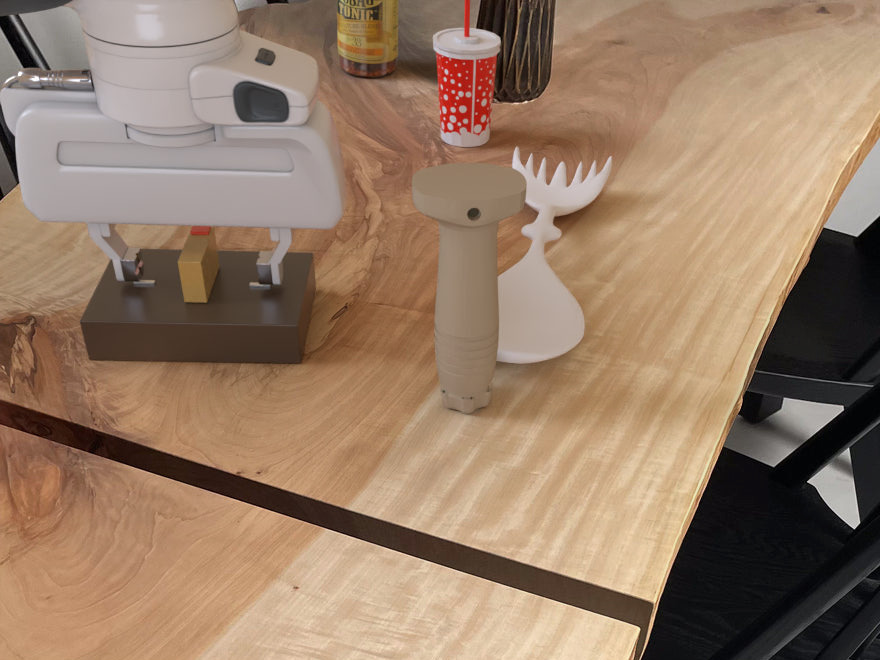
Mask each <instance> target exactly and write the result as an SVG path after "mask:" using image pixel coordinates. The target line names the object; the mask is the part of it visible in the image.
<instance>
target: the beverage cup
mask: <svg viewBox="0 0 880 660" xmlns="http://www.w3.org/2000/svg"><path fill="white" fill-rule="evenodd" d="M470 19H471V0H464V22H463V23H464V25H463V26H464V27H454V28H453V27H452V28H446V29H443V30H439V31H437V32H436V33H434V34H433V35H432V47H433V48H432V49H433V51H434V52H435V53H436V54H435V55H436V73H437V88H438V105H439V124H440V139H441V140H442V141H443V142H444V143H446V144H447V145H450V146H454V147H460V148H473V147H480V146H483V145H485V144H487V143H488V142H489V140H490V136H491V135H490V134H491V124H492V115H493V114H492V113H493V102H494V93H495V83H496V82H495V81H496V72H497V71H496V69H497V60H498V54H499V53H500V52H501V46H502V41H501V36H499V35H497V34H496V33H494V32H492V31H489V30H487V29H480V28H473V27H470V26H471V25H470V24H471V20H470Z"/></svg>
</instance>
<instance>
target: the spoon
mask: <svg viewBox="0 0 880 660" xmlns="http://www.w3.org/2000/svg"><path fill="white" fill-rule="evenodd" d="M612 167H613V157H612V155H610V156H609V157H608V158H607V161H606V162H605V164H604V166H603V168H602V170H600V172H598V173H597V160H596V159H594V160H593V162H592V164H591V167H590V169H589V172H588V174H587V175H586V177H585V179H584V180H583V161H582V160H581V161H580V162H579V163H578V166H577V169H576V170H575V174H574V177H573V179H572V181H571V183H570V184H569V185H568V184H567V182H568V181H567V167H566V163H565V161H563V160H562V161H560V163H559V164H558V165H557V167H556V170H555V172H554V174H553V176H552V178H551V180H550V183H549V184H548V183H547V158H546V157H543V159H542V161H541V164H540V166H539V169H538V172H537V175H536V176H535V174H534V155H533V152H531V153H530V155H529V157H528V159H527V162H526V164H525V166H524V165H523V164H522V162H521V152H520V147H519V146H518V145H517V146H515V148H514V151H513V155H512V163H511V168H514V169H516V170H517V171H519V172H520V173H522V175H523V176H524V177H525V179H526V183H527V187H526V200H525V204H526V205H527V206H528V207H530V208H532V210H534V211H535V212H537V213H538V214H537V217H536V219H535V220H534V221H533V222H531V223H528V224H525V225H524V226H522V228H521V230H520V232H521V235H522V236H524V237H525V238H527V239H529V240H530V241H532V242H531V244H530V247H529V249H528V250H527V251H526V253H525V255H523V257H522V258H521V259H520V260H518V262H516V263H515V264H513V265H512V266H511V267H509V268H508V269H506V270H505V271H504V272H502V273H501V274H499V275H498V304H499V341H498V351H497V359H496V362H501V363H507V364H532V363H533V364H535V363H539V362H543V361H548V360H551V359H554V358H558V357H560V356H563V355H565V354H566V353H568V352H570V351H571V350H572V349H574V347H576V346H577V345H578V344H579V343H580V342H581V341H582V340H583V337H584V334H585V330H586V329H585V328H586V326H585V325H586V322H585V317H584V311H583V309H582V306H581V305H580V303H579V301H578V300H577V299H576V296H574V295H573V294H572V292H571V291H570V290H569V289H568V288H567V286H566V285H565V284H564V283H563V281H562V279H560V277H558V275H557V274H556V272H555V271H554V269H552V266H551V265H550V264H549V262H548V260H547V258H546V255H545V254H546V253H545V245H546V244H547V243H549V242H553V241H557V240H559V239H560V238H561V237H562V234H563V233H562V230H561V228H558V227H557V226H555V225H554V219H555V217H561V216H566V215H569V214H572V213H575V212H577V211H579V210H581V209H583V208H585V207H587V206H588V205H590V204H591V203H592V202H594V200H595V199H596V198H597V197H598V196H599V195H600V193H601V191H602V189H603V188H604V186H605V184H606V183H607V181H608V179H609V177H610V175H611V173H612V172H611V171H612ZM567 185H568V186H567Z"/></svg>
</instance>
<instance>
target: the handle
mask: <svg viewBox="0 0 880 660" xmlns="http://www.w3.org/2000/svg"><path fill="white" fill-rule="evenodd" d="M526 187H527V183H526V179H525V177H524V176H523V175H522V173H520V172H519V171H517V170H516V169H514V168H512V167H510V166H503V165H497V164H492V163H484V162H453V163H444V164H443V163H442V164H438V165H434V166H429V167H425V168H421V169H418V170H417V171H415V172H414V173H413V175H412V177H411V198H412V203H413V206H414V207H415V209H416V210H417V211H418V212H420V214H422V215H423V216H425V217H427V218H428V219H429V218H430V219H432V220H434V221H436V222H438V233H439V241H438V261H437V279H436V293H435V305H434V321H433V322H434V325H433V326H434V327H433V328H434V333H433V334H434V335H433V337H434V339H433V340H434V341H433V342H434V355H435V363H436V370H437V375H438V380H439V388H440V395H441V400H442V404H443V406H444V407H446V409H451V410H457V411H459V412H461V413H462V414H473V413H474V411H475V410H478V409H480V408H485V407H487V406H488V405H489V404H490V402H491V398H492V393H493V392H492V391H493V389H492V388H491V387H490V385H491V384H492V382H493V379H494V374H495V370H496V364H497V361H496V359H497V351H498V341H499V304H498V276H499V275H498V231H499V227H500V226H499V225H500V222H502V221H504V220H505V219H509V218H510V217H513V216H514V215H516V214H519V213H520V212H521V211H522V210H523V209H524V208H525V204H526V203H525V200H526Z"/></svg>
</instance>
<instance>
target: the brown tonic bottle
mask: <svg viewBox="0 0 880 660" xmlns="http://www.w3.org/2000/svg"><path fill="white" fill-rule="evenodd" d="M336 29H337V30H336V31H337V33H336V35H337V37H336V39H337V53H338V56H339V57H338V58H339V65H340V69H341V70H342V71H344V72H345V73H346V74H349V75H351V76H354V77H359V78H361V77H364V78H370V79H371V78H372V79H375V78H376V79H379V78H382V77H383V76H384V77H385V76H387V75H390V74H392V73H393V72H394V71H395V70H396V67H397V58H398V56H399V0H336Z"/></svg>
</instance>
